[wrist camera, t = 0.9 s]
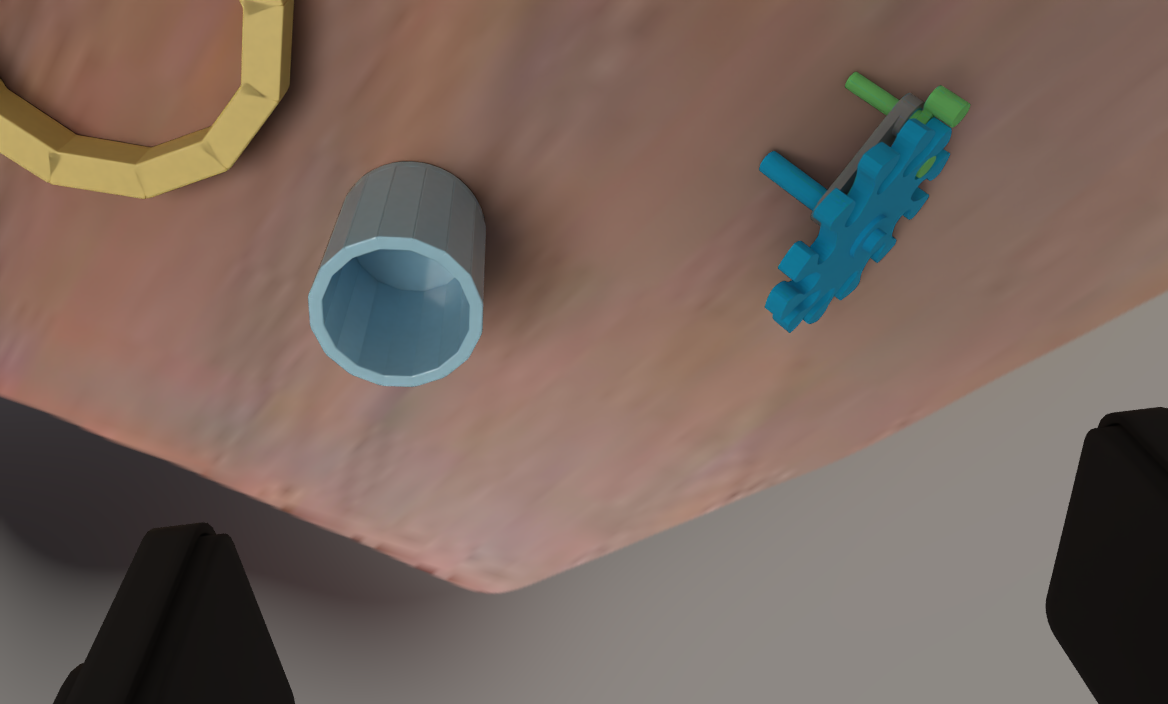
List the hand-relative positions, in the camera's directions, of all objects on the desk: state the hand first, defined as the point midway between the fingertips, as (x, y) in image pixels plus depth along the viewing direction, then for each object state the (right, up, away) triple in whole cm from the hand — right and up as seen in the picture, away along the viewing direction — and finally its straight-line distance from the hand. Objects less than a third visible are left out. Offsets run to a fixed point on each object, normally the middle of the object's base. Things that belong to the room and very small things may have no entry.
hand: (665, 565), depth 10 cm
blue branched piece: (+10, +10, +30) cm, 33 cm away
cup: (-8, +8, +30) cm, 32 cm away
